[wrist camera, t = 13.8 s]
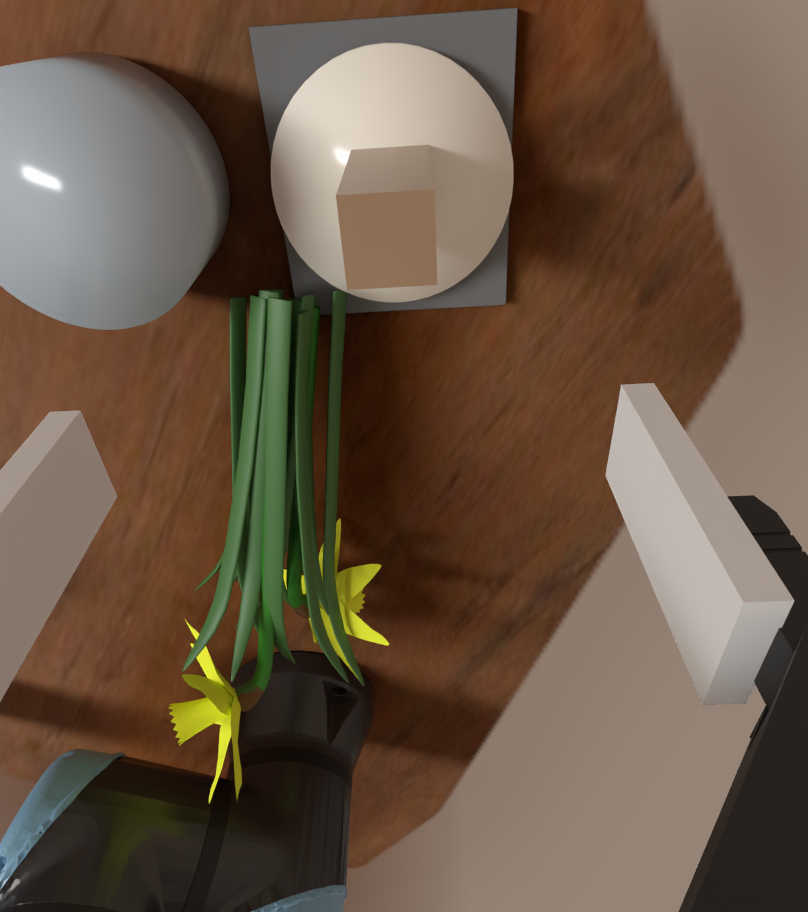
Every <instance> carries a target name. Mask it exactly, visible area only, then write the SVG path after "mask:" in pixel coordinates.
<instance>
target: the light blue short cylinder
mask: <svg viewBox="0 0 808 912" xmlns="http://www.w3.org/2000/svg"><path fill="white" fill-rule="evenodd" d="M229 209H230V190H229V183H228V176H227V172H226V168H225V165H224V161H223V158H222V156H221V153H220V151H219V148H218V146H217V143H216V141H215V140H214V138H213V136H212V134H211V132H210V130H209V128H208V127H207V125H206V124H205V122H204V121H203V120H202V118H201V117H200V115H199V114H198V112H197V111H196V110H195V109H194V108H193V107H192V105H191V104H190V103H189V102H188V101H187V100H186V99H185V98H184V97H183V96H182V95H181V94H180V93H179V92H178V91H177V90H176V89H175V88H174V87H173V86H171V85H170V84H169V83H167V82H166V81H165V80H163V79H162V78H161V77H159V76H158V75H156V74H154V73H153V72H151V71H149V70H148V69H146V68H144V67H142V66H140V65H138V64H136V63H133V62H131V61H129V60H126V59H123V58H119V57H116V56H113V55H108V54H101V53H92V52H79V53H72V54H66V55H60V56H55V57H50V58H44V59H39V60H34V61H28V62H23V63H18V64H13V65H7V66H2V67H0V285H1V286H2V287H3V288H4V289H5V290H6V291H8V292H9V293H10V294H12V295H13V296H15V297H16V298H17V299H19V300H20V301H22V302H23V303H25V304H27V305H28V306H30V307H32V308H33V309H35V310H37V311H39V312H41V313H43V314H45V315H47V316H50V317H52V318H54V319H57V320H60V321H63V322H65V323H68V324H72V325H76V326H80V327H85V328H92V329H100V330H117V329H125V328H132V327H135V326H139V325H143V324H145V323H148V322H150V321H153V320H155V319H157V318H158V317H160V316H162V315H163V314H165V313H167V312H168V311H169V310H170V309H171V308H172V307H174V306H175V305H176V304H177V303H178V302H179V301H180V299H181V298H182V297H183V296H184V295H185V293H186V292H187V291H188V289H189V288H190V287H191V285H192V284H193V282H194V281H195V280H196V278H197V277H198V275H199V274H200V273H201V271H202V270H203V269H204V267H205V266H206V264H207V263H208V262H209V260H210V259H211V258H212V256H213V255H214V253H215V252H216V250H217V248H218V247H219V245H220V243H221V241H222V238H223V236H224V233H225V231H226V227H227V223H228V219H229Z"/></svg>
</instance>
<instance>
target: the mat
mask: <svg viewBox="0 0 808 912" xmlns="http://www.w3.org/2000/svg"><path fill="white" fill-rule="evenodd" d="M249 33H250V39H251V45H252V51H253V56H254V62H255V68H256V74H257V80H258V86H259V91H260V97H261V103H262V109H263V115H264V121H265V126H266V132H267V138H268V144H269V150H270V155H271V157H272V150H273V143H274V140H275V136H276V132H277V129H278V126H279V123H280V121H281V119H282V116H283V114H284V111H285V110H286V108H287V106H288V105H289V103H290V101H291V99H292V98H293V96H294V95H295V93H296V92H297V91H298V90H299V88H300V87H301V86H302V85H303V83H304V82H305V81H306V80H307V79H308V78H309V77H310V76H311V75H313V74H314V73H315V72H316V71H317V70H318V69H319V68H320V67H321V66H323V65H324V64H326V63H327V62H329V61H330V60H331V59H333V58H334V57H336V56H338V55H340V54H342V53H344V52H346V51H348V50H351V49H354V48H357V47H360V46H363V45H367V44H374V43H380V42H403V43H409V44H415V45H419V46H422V47H425V48H428V49H431V50H434V51H436V52H438V53H440V54H442V55H444V56H446V57H448V58H450V59H451V60H453V61H454V62H456V63H457V64H459V65H460V66H461V67H463V68H464V69H465V70H466V71H467V72H468V73H469V74H470V75H471V76H473V77H474V78H475V79H476V80H477V81H478V83H479V84H480V85H481V87H482V88H483V89H484V90H485V92H486V93H487V94H488V95H489V97H490V98H491V100H492V101H493V103H494V105H495V107H496V108H497V110H498V112H499V114H500V116H501V118H502V121H503V123H504V125H505V128H506V131H507V134H508V138H509V141H510V145H511V151H512V132H513V107H514V82H515V58H516V33H517V8H505V9H492V10H478V11H464V12H450V13H436V14H422V15H409V16H395V17H381V18H367V19H353V20H339V21H326V22H312V23H298V24H284V25H270V26H256V27H249ZM283 231H284V229H283ZM508 232H509V212H508V215H507V218H506V221H505V223H504V226H503V229H502V231H501V233H500V235H499V237H498V239H497V241H496V243H495V244H494V245H493V247H492V248H491V250H490V251H489V253H488V254H487V256H486V257H485V258H484V259H483V260H482V262H481V263H480V264H479V265H478V266H477V267H476V268H475V269H474V270H473V271H472V272H471V273H470V274H469V275H467V276H466V277H465V278H464V279H462V280H461V281H459V282H458V283H456V284H455V285H454V286H452V287H450V288H448V289H446V290H444V291H442V292H440V293H438V294H435V295H432V296H430V297H427V298H423V299H419V300H415V301H407V302H380V301H372V300H368V299H364V298H360V297H357V296H354V295H352V294H349V293H347V302H346V313H362V312H380V311H398V310H416V309H435V308H453V307H471V306H489V305H506V281H507V257H508ZM284 237H285V243H286V249H287V255H288V260H289V266H290V272H291V278H292V284H293V290H294V295H295V300H299V301H301V297H303V296H306V295H314V297H316V306H319V307H320V315H326V314H332V305H333V291H334V290H341V289H339V288H337V287H335V286H333V285H331V284H330V283H329V282H327V281H326V280H324V279H323V278H322V277H320V276H319V275H318V274H317V273H316V272H315V271H313V270H312V269H311V268H310V267H309V266H308V265H307V264H306V263H305V261H304V260H303V259H302V258H301V257H300V256H299V254H298V253H297V252H296V250H295V249H294V247H293V246H292V244H291V243H290V241H289V239H288V237H287V235H286V233H285V231H284Z"/></svg>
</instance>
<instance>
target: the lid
mask: <svg viewBox="0 0 808 912" xmlns="http://www.w3.org/2000/svg"><path fill="white" fill-rule="evenodd" d="M513 182H514V174H513V158H512V151H511V145H510V141H509V138H508V134H507V131H506V128H505V125H504V123H503V121H502V118H501V116H500V114H499V112H498V110H497V108H496V107H495V105H494V103H493V101H492V100H491V98H490V97H489V95H488V94H487V93H486V92H485V90H484V89H483V88H482V87H481V85H480V84H479V83H478V81H477V80H476V79H475V78H474V77H473V76H471V75H470V74H469V73H468V72H467V71H466V70H465V69H464V68H463V67H461V66H460V65H459V64H457V63H456V62H454V61H453V60H451V59H450V58H448V57H446V56H444V55H442V54H440V53H438V52H436V51H434V50H431V49H428V48H425V47H422V46H419V45H415V44H409V43H403V42H380V43H374V44H367V45H363V46H360V47H357V48H354V49H351V50H348V51H346V52H344V53H342V54H340V55H338V56H336V57H334V58H333V59H331V60H330V61H329V62H327V63H326V64H324V65H323V66H321V67H320V68H319V69H318V70H317V71H316V72H315V73H314V74H313V75H311V76H310V77H309V78H308V79H307V80H306V81H305V82H304V83H303V85H302V86H301V87H300V88H299V90H298V91H297V92H296V93H295V95H294V96H293V98H292V99H291V101H290V103H289V105H288V106H287V108H286V110H285V111H284V114H283V116H282V119H281V121H280V123H279V126H278V129H277V132H276V136H275V140H274V143H273V150H272V157H271V186H272V194H273V199H274V203H275V207H276V212H277V214H278V217H279V220H280V222H281V225H282V228H283V229H284V231H285V233H286V235H287V237H288V239H289V241H290V243H291V244H292V246H293V247H294V249H295V250H296V252H297V253H298V254H299V256H300V257H301V258H302V259H303V260H304V261H305V263H306V264H307V265H308V266H309V267H310V268H311V269H312V270H313V271H315V272H316V273H317V274H318V275H319V276H320V277H322V278H323V279H324V280H326V281H327V282H329V283H330V284H331V285H333V286H335V287H337V288H339V289H341V290H343V291H344V292H347V293H349V294H352V295H354V296H357V297H360V298H364V299H368V300H372V301H380V302H407V301H415V300H419V299H423V298H427V297H430V296H432V295H435V294H438V293H440V292H442V291H444V290H446V289H448V288H450V287H452V286H454V285H455V284H456V283H458V282H459V281H461V280H462V279H464V278H465V277H466V276H467V275H469V274H470V273H471V272H472V271H473V270H474V269H475V268H476V267H477V266H478V265H479V264H480V263H481V262H482V260H483V259H484V258H485V257H486V256H487V254H488V253H489V251H490V250H491V248H492V247H493V245H494V244H495V243H496V241H497V239H498V237H499V235H500V233H501V231H502V229H503V226H504V223H505V221H506V218H507V215H508V212H509V207H510V203H511V199H512V191H513Z"/></svg>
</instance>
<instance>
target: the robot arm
mask: <svg viewBox="0 0 808 912" xmlns="http://www.w3.org/2000/svg"><path fill="white" fill-rule="evenodd" d="M606 478H607V480H608V483H609V485H610V487H611V490H612V492H613V494H614V497H615V499H616V502H617V504H618V506H619V509H620V511H621V513H622V516H623V518H624V520H625V523H626V525H627V528H628V530H629V532H630V535H631V537H632V539H633V542H634V544H635V547H636V548H637V551H638V554H639V556H640V558H641V561H642V563H643V565H644V568H645V570H646V573H647V575H648V577H649V580H650V582H651V584H652V587H653V589H654V592H655V594H656V596H657V599H658V601H659V603H660V605H661V608H662V610H663V613H664V615H665V617H666V620H667V622H668V625H669V627H670V629H671V632H672V634H673V637H674V639H675V641H676V644H677V646H678V648H679V651H680V653H681V656H682V658H683V660H684V663H685V665H686V667H687V670H688V672H689V674H690V677H691V679H692V681H693V684H694V686H695V689H696V691H697V693H698V696H699V698H700V701H701V703H702V705H717V704H746V702H747V700H748V698H749V696H750V694H751V692H752V689H753V687H754V685H755V684H756V686H757V688H758V690H759V692H760V694H761V696H762V698H763V700H764V702H765V703H766V706H765V709H764V710H763V712H762V714H761V716H760V718H759V720H758V722H757V724H756V726H755V728H754V730H753V732H752V734H751V736H750V738H751V740H750V743H749V745H748V747H747V750H746V752H745V755H744V757H743V760H742V762H741V764H740V767H739V769H738V771H737V774H736V776H735V779H734V781H733V783H732V786H731V788H730V791H729V793H728V795H727V798H726V800H725V802H724V805H723V807H722V810H721V812H720V815H719V817H718V819H717V821H716V824H715V826H714V829H713V831H712V833H711V836H710V838H709V841H708V843H707V845H706V848H705V850H704V852H703V855H702V857H701V860H700V862H699V864H698V867H697V869H696V872H695V874H694V876H693V879H692V881H691V884H690V886H689V888H688V891H687V893H686V895H685V898H684V900H683V903H682V905H681V908H680V910H679V912H808V555H807V554H806V553H805V552H802V547H801V546H800V544H799V543H798V542H797V540H796V539H795V537H794V536H793V535H790V530H789V529H788V528H787V526H786V525H785V524H784V522H783V521H782V519H781V518H780V517H779V515H778V514H777V512H775V511H774V510H773V509H771V508H770V507H769V506H767V505H766V504H764V503H763V502H761V501H760V500H759V499H758V498H756V497H755V496H729V497H727V495H726V494H725V492H724V491H723V489H722V488H721V486H720V485H719V483H718V482H717V480H716V478H715V477H714V475H713V474H712V472H711V471H710V469H709V468H708V466H707V465H706V463H705V461H704V460H703V458H702V457H701V455H700V454H699V452H698V451H697V449H696V448H695V446H694V444H693V443H692V442H691V440H690V438H689V437H688V435H687V434H686V432H685V431H684V429H683V427H682V426H681V424H680V423H679V421H678V420H677V418H676V417H675V415H674V414H673V412H672V410H671V409H670V407H669V406H668V404H667V403H666V401H665V400H664V398H663V397H662V395H661V393H660V392H659V390H658V389H657V387H656V386H655V384H654V383H648V384H627V385H621V390H620V396H619V401H618V407H617V413H616V419H615V424H614V430H613V436H612V441H611V447H610V453H609V459H608V464H607V470H606ZM116 498H117V495H116V493H115V490H114V488H113V486H112V483H111V481H110V479H109V476H108V474H107V471H106V469H105V467H104V464H103V462H102V460H101V457H100V455H99V453H98V450H97V448H96V446H95V443H94V441H93V439H92V436H91V434H90V432H89V429H88V427H87V425H86V422H85V420H84V418H83V415H82V413H81V411H61V412H49V414H48V415H47V416H46V417H45V418H44V419H43V421H42V422H41V423H40V424H39V425H38V427H37V428H36V429H35V430H34V431H33V432H32V434H31V435H30V436H29V437H28V438H27V440H26V441H25V442H24V443H23V444H22V445H21V447H20V448H19V449H18V450H17V451H16V453H15V454H14V455H13V456H12V457H11V458H10V460H9V461H8V462H7V463H6V464H5V465H4V467H3V468H2V469H1V470H0V701H1V700H2V698H3V696H4V694H5V693H6V691H7V689H8V687H9V686H10V684H11V682H12V680H13V679H14V677H15V675H16V673H17V672H18V670H19V668H20V666H21V665H22V663H23V661H24V659H25V658H26V656H27V654H28V652H29V651H30V649H31V647H32V645H33V644H34V642H35V640H36V638H37V637H38V635H39V633H40V631H41V630H42V628H43V626H44V624H45V623H46V621H47V619H48V617H49V616H50V614H51V612H52V610H53V608H54V607H55V605H56V603H57V601H58V600H59V598H60V596H61V594H62V593H63V591H64V589H65V587H66V586H67V584H68V582H69V580H70V579H71V577H72V575H73V573H74V572H75V570H76V568H77V566H78V565H79V563H80V561H81V559H82V558H83V556H84V554H85V552H86V551H87V549H88V547H89V545H90V544H91V542H92V540H93V538H94V537H95V535H96V533H97V531H98V530H99V528H100V526H101V524H102V523H103V521H104V519H105V517H106V516H107V514H108V512H109V510H110V509H111V507H112V505H113V503H114V502H115V500H116ZM291 655H292V657H293V658H294V660H295V663H296V664H294V663H293V662H291V661H290V660H288V659H287V658H286V657H284V656H283V655H282V654H281V653H276V654H273V665H272V671H271V676H270V679H269V682H268V684H267V687H266V690H265V692H264V693H263V695H262V696H261V698H260V700H259V701H258V702H257V703H256V704H255V705H254V706H253V707H252V708H251V709H250V710H249V711H245V712H243V711H241V712H240V721H239V732H238V750H239V758H240V764H241V772H242V784H241V787H240V790H239V793H238V799H237V797H236V788H235V774H234V757H233V744H232V735H231V738H230V741H229V744H228V748H229V758H230V763H229V768H228V773H227V777H226V779H224V778H218V781H217V784H216V787H215V789H214V792H213V795H212V798H211V801H210V803H209V795H210V789H211V787H212V784H213V781H214V779H215V776H210V775H206V774H202V773H197V772H193V771H189V770H184V769H180V768H176V767H171V766H167V765H163V764H158V763H154V762H150V761H145V760H141V759H137V758H132V757H128V756H126V755H125V753H115V754H109V753H103V752H97V751H91V750H85V749H75V750H71V751H69V752H66V753H65V754H63V755H61V756H60V757H59V758H57V759H56V760H55V761H54V762H53V763H52V764H51V765H50V766H49V768H48V769H47V770H46V771H45V772H44V774H43V775H42V777H41V778H40V779H39V781H38V782H37V784H36V785H35V787H34V788H33V790H32V791H31V793H30V794H29V796H28V797H27V799H26V800H25V802H24V804H23V805H22V807H21V808H20V810H19V812H18V813H17V815H16V817H15V819H14V820H13V822H12V824H11V825H10V827H9V829H8V830H7V832H6V834H5V836H4V838H3V839H2V842H1V843H0V912H343V907H344V900H345V898H346V896H347V887H346V877H347V860H348V843H349V826H350V809H351V790H352V777H353V771H354V769H355V766H356V763H357V761H358V758H359V756H360V753H361V751H362V748H363V746H364V743H365V740H366V738H367V735H368V733H369V730H370V728H371V725H372V722H373V716H374V691H373V688H372V686H371V684H370V682H369V681H368V680H367V678H366V677H365V676H364V675H363V674H362V673H361V674H362V678H363V681H364V685H365V686H363V685H362V683H361V682H360V681H359V680H358V679H357V678H356V676H355V675H354V674H353V672H352V671H351V670H350V669H349V668H348V666H347V665H346V664H345V663H344V662H342V661H340V660H339V661H340V663H341V665H342V667H343V669H344V671H345V673H346V676H347V678H348V681H349V683H348V682H347V681H346V680H345V679H344V678H343V677H342V676H341V675H340V673H339V672H338V671H337V670H336V669H335V667H334V666H333V665H332V664H331V662H330V661H329V659H328V658H327V656H324V655H320V654H314V653H305V652H291ZM256 666H257V659H255V660H252V661H250V662H248V663H247V664H245V665H244V666H242V667H241V668H240V669H239V670H238V671H237V673H236V676H235V678H234V680H233V682H230V686H231V687H233V688H235V689H237V688H238V687H239V686H240V685H242V684H244V683H246V682H248V681H250V680H251V679H252V678H253V676H254V673H255V670H256Z"/></svg>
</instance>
